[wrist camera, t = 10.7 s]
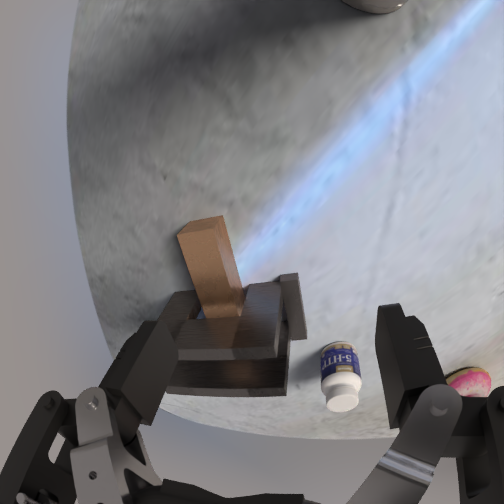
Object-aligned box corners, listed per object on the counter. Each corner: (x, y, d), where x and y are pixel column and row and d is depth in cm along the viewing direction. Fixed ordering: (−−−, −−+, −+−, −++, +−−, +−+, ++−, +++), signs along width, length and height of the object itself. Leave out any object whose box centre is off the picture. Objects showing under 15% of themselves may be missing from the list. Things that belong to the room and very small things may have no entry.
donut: (444, 364, 37) (452, 386, 32) (496, 357, 35) (506, 375, 31) (415, 410, 43) (420, 430, 38) (466, 402, 41) (472, 419, 37)
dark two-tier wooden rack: (153, 289, 37) (114, 342, 28) (297, 272, 33) (295, 337, 23) (176, 339, 41) (148, 394, 31) (307, 331, 37) (306, 398, 27)
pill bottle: (350, 335, 36) (358, 386, 28) (361, 358, 38) (368, 407, 30) (314, 348, 38) (314, 399, 30) (327, 369, 40) (329, 418, 32)
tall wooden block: (189, 221, 32) (176, 235, 29) (223, 215, 31) (213, 228, 28) (231, 346, 40) (225, 367, 36) (258, 345, 39) (254, 366, 35)
